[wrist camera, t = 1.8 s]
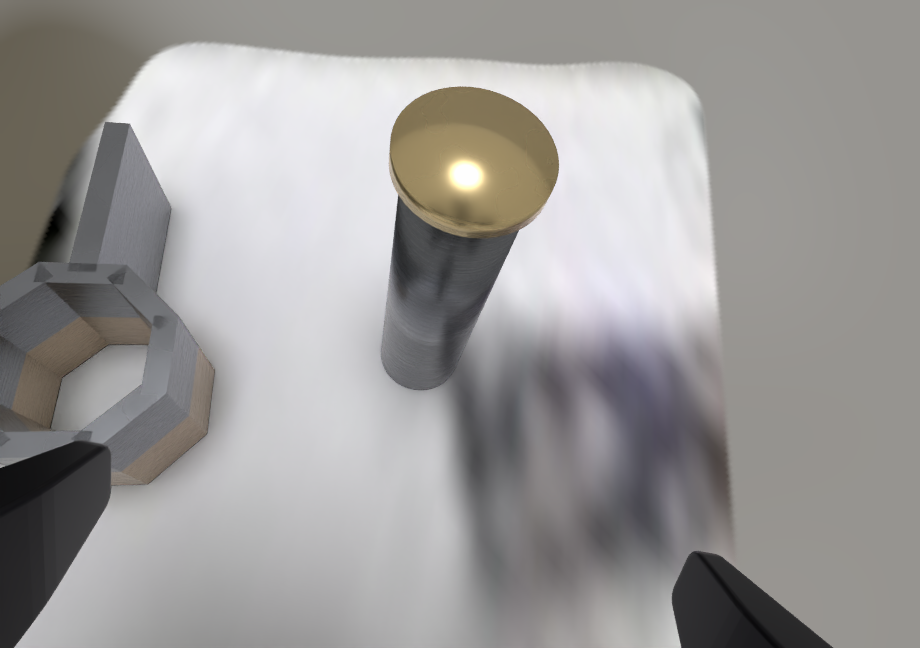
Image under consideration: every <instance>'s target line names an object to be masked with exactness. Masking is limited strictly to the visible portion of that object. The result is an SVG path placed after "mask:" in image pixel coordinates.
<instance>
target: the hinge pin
mask: <svg viewBox="0 0 920 648" xmlns="http://www.w3.org/2000/svg"><path fill="white" fill-rule="evenodd" d="M389 171H390V176H391V180H392V183H393V185H394V187H395V190H396V191H397V193H398V203H397V212H396V221H395V230H394V239H393V248H392V257H391V266H390V275H389V284H388V293H387V302H386V311H385V321H384V330H383V339H382V348H381V358H382V363H383V365H384V368H385V370H386V372H387V373H388V374H389V376H390V377H391V378H392V379H393V380H394V381H396V382H397V383H399V384H400V385H402V386H404V387H407V388H410V389H414V390H427V389H431V388H434V387H437V386H439V385H441V384H442V383H444V382H445V381H446V380H447V379H448V378H449V377H450V376H451V374H452V373H453V371H454V369H455V367H456V365H457V363H458V360H459V358H460V356H461V354H462V352H463V350H464V348H465V345H466V343H467V341H468V339H469V337H470V335H471V332H472V330H473V328H474V326H475V324H476V322H477V320H478V317H479V315H480V313H481V311H482V309H483V307H484V304H485V302H486V300H487V298H488V296H489V294H490V292H491V289H492V287H493V285H494V283H495V281H496V279H497V276H498V274H499V272H500V270H501V268H502V266H503V264H504V261H505V259H506V257H507V255H508V253H509V251H510V249H511V246H512V244H513V242H514V240H515V238H516V236H517V233H518V231H519V230H520V229H522V228H523V227H525V226H527V225H528V224H529V223H531V222H532V221H533V220H534V219H535V218H536V217H537V216H538V215H539V214H540V212H541V211H542V209H543V208H544V206H545V204H546V202H547V200H548V198H549V196H550V194H551V192H552V190H553V188H554V186H555V184H556V181H557V177H558V171H559V160H558V153H557V149H556V146H555V144H554V141H553V139H552V137H551V135H550V133H549V132H548V130H547V129H546V127H545V126H544V125H543V123H542V122H541V121H540V120H539V119H538V118H537V117H536V116H535V115H534V114H533V113H532V112H531V111H529V110H528V109H527V108H525V107H524V106H523V105H521V104H520V103H518V102H516V101H514V100H513V99H511V98H509V97H506V96H504V95H502V94H499V93H496V92H493V91H490V90H486V89H481V88H474V87H449V88H443V89H438V90H435V91H431V92H429V93H427V94H424V95H422V96H420V97H419V98H417V99H415V100H414V101H413V102H411V103H410V104H409V105H408V106H407V107H406V108H405V109H404V110H403V111H402V112H401V113H400V115H399V116H398V118H397V119H396V122H395V124H394V126H393V129H392V133H391V141H390V153H389Z"/></svg>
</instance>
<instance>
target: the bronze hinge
mask: <svg viewBox="0 0 920 648" xmlns="http://www.w3.org/2000/svg"><path fill="white" fill-rule="evenodd" d="M170 212H171V206H170V204H169V202H168V200H167V198H166V196H165V194H164V192H163V190H162V188H161V186H160V184H159V182H158V180H157V178H156V176H155V174H154V172H153V170H152V168H151V166H150V164H149V161H148V159H147V157H146V155H145V153H144V151H143V149H142V147H141V145H140V143H139V141H138V139H137V137H136V135H135V133H134V131H133V129H132V127H131V125H130V124H126V123H112V122H105V124H104V128H103V132H102V136H101V140H100V144H99V148H98V152H97V156H96V160H95V164H94V168H93V172H92V176H91V180H90V184H89V187H88V191H87V195H86V199H85V203H84V207H83V211H82V215H81V219H80V223H79V227H78V231H77V235H76V239H75V243H74V247H73V250H72V254H71V258H70V262H69V263H54V262H38V263H37V264H35V265H33V266H32V267H30V268H29V269H27V270H25V271H24V272H22V273H21V274H19V275H17V276H16V277H14V278H13V279H11V280H9V281H8V282H6V283H5V284H3V285H1V286H0V464H2V465H5V466H8V465H10V464H13V463H16V462H19V461H21V460H24V459H27V458H30V457H33V456H35V455H38V454H41V453H44V452H46V451H49V450H52V449H55V448H58V447H60V446H63V445H66V444H69V443H72V442H74V441H78V440H84V441H90V442H95V443H101V444H105V445H107V446H108V447H109V448H110V450H111V456H112V457H111V485H139V484H149V483H150V482H151V481H152V480H153V479H154V478H156V477H157V476H158V475H159V474H160V473H162V472H163V471H164V470H165V469H166V468H167V467H169V466H170V465H171V464H172V463H173V462H174V461H176V460H177V459H178V458H179V457H180V456H181V455H183V454H184V453H185V452H186V451H187V450H188V449H190V448H191V447H192V446H193V445H194V444H196V443H197V442H198V441H199V440H200V439H201V438H203V437H204V436H205V435H206V434H207V429H208V421H209V413H210V405H211V397H212V388H213V380H214V372H215V370H214V368H213V367H212V365H211V364H210V362H209V361H208V359H207V358H206V356H205V355H204V353H203V352H202V350H201V349H200V347H199V346H198V344H197V343H196V341H195V340H194V338H193V337H192V335H191V334H190V332H189V331H188V329H187V328H186V326H185V325H184V323H183V322H182V320H181V319H180V317H179V316H178V315H177V314H176V313H175V312H174V311H173V310H172V309H171V308H170V307H169V306H168V305H167V304H166V303H165V302H164V301H163V300H162V299H161V298H160V297H159V296H158V295H157V294H156V290H157V285H158V279H159V273H160V268H161V262H162V257H163V251H164V245H165V240H166V234H167V228H168V223H169V217H170ZM108 344H147V345H149V347H148V352H147V358H146V364H145V369H144V375H143V381H142V384H141V385H140V386H139V387H138V388H136V389H135V390H134V391H132V392H131V393H130V394H128V395H127V396H126V397H124V398H123V399H122V400H121V401H119V402H118V403H117V404H115V405H114V406H113V407H111V408H110V409H109V410H108V411H106V412H105V413H104V414H102V415H101V416H100V417H98V418H97V419H96V420H95V421H93V422H92V423H91V424H89V425H88V426H87V427H85V428H84V429H83V430H81V431H51V430H50V425H51V421H52V417H53V413H54V408H55V404H56V400H57V396H58V392H59V387H60V383H61V379H62V377H63V376H65V375H66V374H68V373H69V372H70V371H72V370H73V369H75V368H76V367H77V366H79V365H80V364H82V363H83V362H84V361H86V360H87V359H89V358H90V357H91V356H93V355H94V354H96V353H97V352H98V351H100V350H101V349H103V348H104V347H105V346H107V345H108Z"/></svg>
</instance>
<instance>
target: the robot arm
mask: <svg viewBox="0 0 920 648" xmlns="http://www.w3.org/2000/svg"><path fill="white" fill-rule="evenodd" d="M111 457H112V456H111V450H110V448H109V447H108V446H107V445H105V444H101V443H95V442H90V441H84V440H78V441H74V442H72V443H69V444H66V445H63V446H60V447H58V448H55V449H52V450H49V451H46V452H44V453H41V454H38V455H35V456H33V457H30V458H27V459H24V460H21V461H19V462H16V463H13V464H10V465H8V466H5V467H2V468H0V648H14V647H15V646H16V644H17V643H18V642H19V640H20V639H21V638H22V636H23V635H24V634H25V632H26V631H27V630H28V628H29V627H30V626H31V624H32V623H33V622H34V620H35V619H36V618H37V616H38V615H39V614H40V612H41V611H42V609H43V608H44V607H45V605H46V604H47V602H48V601H49V599H50V598H51V596H52V594H53V593H54V591H55V590H56V588H57V587H58V585H59V583H60V582H61V580H62V578H63V577H64V575H65V574H66V572H67V570H68V569H69V567H70V565H71V564H72V562H73V560H74V559H75V557H76V556H77V554H78V552H79V551H80V549H81V547H82V546H83V544H84V542H85V541H86V539H87V538H88V536H89V534H90V533H91V531H92V529H93V528H94V526H95V524H96V523H97V521H98V519H99V518H100V516H101V515H102V513H103V511H104V510H105V508H106V506H107V504H108V501H109V498H110V494H111ZM672 606H673V611H674V615H675V620H676V625H677V629H678V634H679V639H680V643H681V648H833V647H832V646H830V645H829V644H828V643H827V642H825V641H824V640H823V639H822V638H821V637H819V636H818V635H817V634H816V633H814V632H813V631H812V630H811V629H810V628H808V627H807V626H806V625H805V624H803V623H802V622H801V621H800V620H798V619H797V618H796V617H794V615H792V614H791V613H790V612H789V611H787V610H786V609H785V608H784V607H782V606H781V605H780V604H779V603H778V602H776V601H775V600H774V599H773V598H772V597H770V596H769V595H768V594H767V593H765V592H764V591H763V590H762V589H760V588H759V587H758V586H757V585H756V584H754V583H753V582H752V581H751V580H750V579H748V578H747V577H746V576H745V575H743V574H742V573H741V572H740V571H739V570H737V569H736V568H735V567H734V566H732V565H731V564H730V563H729V562H727V561H726V560H725V559H724V558H723V557H721V556H719V555H717V554H712V553H707V552H701V551H694V552H692V553H691V554H690V555H689V556H688V558H687V560H686V562H685V564H684V566H683V569H682V571H681V573H680V575H679V577H678V579H677V582H676V584H675V586H674V589H673V593H672Z"/></svg>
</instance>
